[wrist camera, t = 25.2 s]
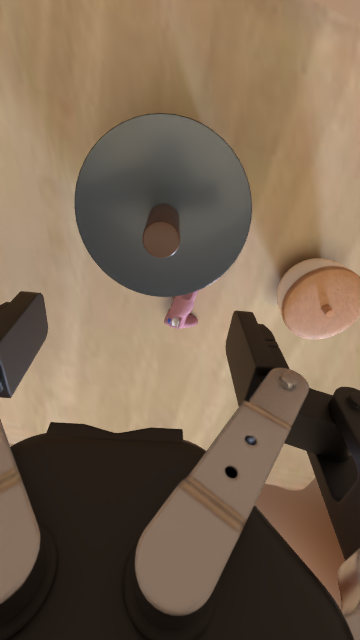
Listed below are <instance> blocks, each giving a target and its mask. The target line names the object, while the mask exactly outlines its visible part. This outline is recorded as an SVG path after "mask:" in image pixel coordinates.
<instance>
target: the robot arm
mask: <svg viewBox="0 0 360 640" xmlns="http://www.w3.org/2000/svg"><path fill="white" fill-rule="evenodd" d="M47 332H48V323H47V316H46V310H45V303H44V298H43V295H42V294H41V293H35V292H24V291H21V292H19V293H18V295H17V296H16V297H15V298H14V299H13V300H12V301H11V302H5V303H4V304H2V305H0V397H3V398H11V397H12V395H13V393H14V392H15V390H16V388H17V387H18V385H19V383H20V381H21V380H22V378H23V376H24V375H25V373H26V371H27V370H28V368H29V366H30V365H31V363H32V361H33V359H34V358H35V356H36V354H37V353H38V351H39V349H40V348H41V346H42V344H43V343H44V341H45V339H46V336H47ZM278 347H279V346H278V344H277V342H276V341H275V338H274V336H273V334H272V332H271V331H270V330H269V329H268V328H267V327H266V326H265V325H263V324H258V323H257V321H256V318H255V316H254V314H253V312H245V311H234V313H233V316H232V320H231V324H230V328H229V332H228V336H227V340H226V355H227V359H228V363H229V368H230V372H231V376H232V380H233V384H234V388H235V393H236V397H237V401H238V405H239V408H238V409H237V410H236V412H235V413H234V415H233V416H232V417H231V419H230V420H229V421H228V423H227V424H226V425H225V427H224V428H223V430H222V431H221V432H220V434H219V435H218V436H217V438H216V439H215V440H214V442H213V443H212V444H211V446H210V447H209V449H208V450H207V451H205V450H204V449H202V448H201V447H199V446H197V445H196V444H194V443H191V442H189V441H186V440H183V431H182V429H166V428H146V429H140V430H135V431H129V432H123V433H113V432H109V431H106V430H102V429H99V428H96V427H92V426H89V425H85V424H73V423H54V422H51V423H50V425H49V428H48V430H47V433H44V434H40V435H36V436H33V437H30V438H27V439H25V440H23V441H20V442H18V443H16V444H14V445H13V446H11V447H10V445H9V443H8V440H7V437H6V434H5V431H4V429H3V426H2V423H1V420H0V640H360V390H357V389H354V388H351V387H340V388H338V389H337V390H336V391H335V392H334V394H333V395H329V394H326V393H323V392H320V391H316V390H313V389H311V388H309V385H308V383H307V381H306V380H305V379H304V378H303V377H302V376H301V375H300V374H298V373H297V372H295V371H293V370H290V369H289V367H288V365H287V363H286V361H285V359H284V357H283V354H282V352H281V350H280V348H278ZM284 443H286V444H288V445H291V446H294V447H297V448H300V449H303V450H306V451H307V454H308V456H309V459H310V462H311V465H312V468H313V471H314V473H315V476H316V479H317V482H318V485H319V488H320V490H321V493H322V496H323V499H324V502H325V504H326V507H327V510H328V513H329V516H330V519H331V522H332V524H333V527H334V530H335V533H336V535H337V539H338V541H339V544H340V547H341V550H342V553H343V555H344V558H345V562H344V563H343V564H342V565H341V567H340V569H339V572H338V585H339V591H340V596H341V610H340V608H339V606H338V605H337V603H336V602H335V600H334V598H333V597H332V596H331V594H330V593H329V592H328V591H327V589H326V588H325V586H324V585H323V584H322V583H321V582H320V581H319V579H318V578H317V577H316V576H315V575H314V574H313V572H312V571H311V570H310V569H309V568H308V567H307V565H306V564H305V563H304V562H303V561H302V560H301V559H300V557H299V556H298V555H297V554H296V553H295V552H294V550H293V549H292V548H291V547H290V546H289V545H288V544H287V542H286V541H285V540H284V539H283V537H282V536H281V535H280V534H279V533H278V532H277V530H276V529H275V528H274V527H273V526H272V525H271V523H269V521H268V520H267V519H266V518H265V517H264V515H263V514H262V513H261V512H260V511H259V510H258V509H257V507H256V506H255V505H254V504H255V502H256V500H257V498H258V496H259V494H260V492H261V490H262V488H263V486H264V484H265V482H266V480H267V477H268V475H269V473H270V471H271V469H272V467H273V465H274V463H275V461H276V459H277V457H278V455H279V453H280V451H281V448H282V446H283V444H284Z"/></svg>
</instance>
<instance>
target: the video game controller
mask: <svg viewBox="0 0 360 640" xmlns="http://www.w3.org/2000/svg"><path fill="white" fill-rule="evenodd" d="M217 280H218V279H217ZM215 281H216V280H215ZM197 292H198V291H195V292H192V293H189V294H186V295H180V296H175V299H174V301H173V303H172V306H171V308H170V310H169V311H168V313H167V315H166V317H165V320H164V323H165V324H167V325H168V326H170V327H173V328H177V329H180V328H185V327H192V326H195V325H197V323H198V320H197V318H196V317H194V316H193V315H190V314H189V313H190V312H191V310H192V308H193V306H194V299H195V297H196V295H197Z"/></svg>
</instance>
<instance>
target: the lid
mask: <svg viewBox="0 0 360 640" xmlns="http://www.w3.org/2000/svg"><path fill="white" fill-rule="evenodd" d="M251 214H252V202H251V192H250V187H249V183H248V179H247V176H246V173H245V171H244V169H243V167H242V165H241V163H240V160H239V159H238V157H237V156H236V154H235V153H234V151H233V150H232V148H231V147H230V146H229V145H228V144H227V143H226V142H225V141H224V139H223V138H221V137H220V136H219V135H218V134H217V133H215V132H214V131H213V130H212V129H210V128H208V127H207V126H205V125H203V124H202V123H200V122H198V121H195V120H193V119H190V118H188V117H184V116H180V115H176V114H165V113H156V114H146V115H142V116H138V117H134V118H132V119H129V120H127V121H124V122H122V123H120V124H119V125H117V126H116V127H114V128H112V129H111V130H110V131H108V132H107V133H106V134H105V135H104V136H103V137H101V138H100V139H99V141H98V142H97V143H96V144H95V145H94V147H93V148H92V149H91V151H90V152H89V154H88V155H87V157H86V159H85V161H84V163H83V165H82V168H81V170H80V173H79V176H78V180H77V183H76V191H75V215H76V221H77V225H78V229H79V233H80V235H81V238H82V240H83V243H84V245H85V247H86V249H87V250H88V252H89V254H90V255H91V257H92V258H93V260H94V261H95V262H96V263H97V265H98V266H99V267H100V268H101V269H102V270H103V271H104V272H105V273H106V274H107V275H108V276H109V277H111V278H112V279H114V280H115V281H116V282H118V283H119V284H121V285H123V286H125V287H126V288H129V289H131V290H133V291H136V292H139V293H142V294H146V295H151V296H159V297H172V296H180V295H186V294H189V293H192V292H195V291H198V290H200V289H202V288H204V287H206V286H208V285H209V284H211V283H213V282H214V281H215V280H217V279H218V278H219V277H221V276H222V275H223V274H224V273H225V272H226V271H227V270H228V269H229V268H230V266H231V265H232V264H233V263H234V262H235V260H236V258H237V257H238V255H239V254H240V252H241V250H242V248H243V246H244V244H245V241H246V238H247V235H248V232H249V228H250V223H251Z"/></svg>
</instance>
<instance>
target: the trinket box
mask: <svg viewBox="0 0 360 640" xmlns="http://www.w3.org/2000/svg"><path fill="white" fill-rule="evenodd" d="M277 303H278V307H279V311H280V313H281V315H282V317H283V320H284V322H285V324H286V326H287V327H288V329H289V330H290V331H291V332H292V333H294V334H295V335H297V336H299V337H302V338H306V339H323V338H327V337H331V336H334V335H336V334H338V333H340V332H342V331H344V330H345V329H347V328H348V327H349V326H351V325H352V324H353V323H354V322H355V321H356V320H357V319H358V317H359V316H360V277H359V276H358V275H357V274H356V273H354V272H353V271H351V270H349V269H348V268H346V267H345V266H343V265H341V264H339V263H337V262H335V261H332V260H328V259H322V258H315V259H308V260H305V261H302V262H300V263H298V264H296V265H294V266H293V267H292V268H290V269H289V270H288V271H287V272H286V273H285V274H284V276H283V277H282V279H281V281H280V283H279V286H278V290H277Z"/></svg>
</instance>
